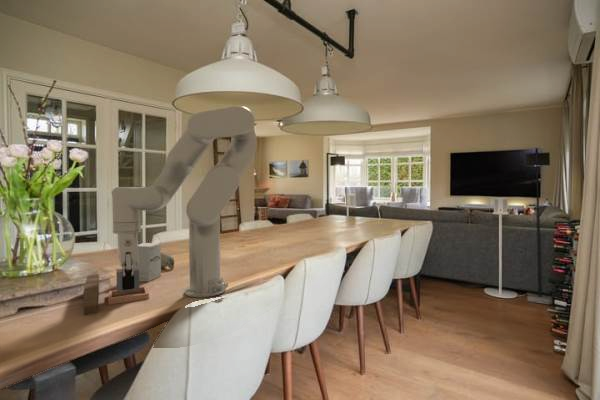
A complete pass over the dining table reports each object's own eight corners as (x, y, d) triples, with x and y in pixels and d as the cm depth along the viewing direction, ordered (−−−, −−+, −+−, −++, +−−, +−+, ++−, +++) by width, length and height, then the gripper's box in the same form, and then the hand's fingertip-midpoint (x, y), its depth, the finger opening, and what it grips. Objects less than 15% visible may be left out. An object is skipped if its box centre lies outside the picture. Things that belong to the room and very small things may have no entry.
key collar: (146, 290, 110) (146, 286, 110) (149, 298, 102) (149, 293, 102) (108, 295, 104) (108, 291, 104) (108, 304, 97) (108, 299, 97)
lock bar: (138, 286, 106) (138, 267, 106) (139, 289, 103) (139, 270, 103) (116, 288, 103) (116, 269, 103) (117, 292, 100) (116, 272, 100)
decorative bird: (167, 271, 134) (166, 253, 134) (142, 266, 142) (142, 249, 142) (178, 268, 139) (178, 250, 138) (154, 264, 147) (153, 246, 147)
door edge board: (97, 312, 91) (96, 290, 90) (84, 315, 89) (83, 292, 89) (99, 292, 108) (98, 273, 108) (88, 293, 107) (87, 274, 106)
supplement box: (149, 281, 120) (148, 246, 119) (130, 280, 121) (130, 245, 120) (161, 276, 127) (161, 242, 126) (144, 275, 128) (143, 242, 128)
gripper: (143, 230, 97) (144, 292, 98) (138, 224, 111) (139, 278, 112) (113, 231, 93) (114, 297, 94) (112, 225, 108) (113, 281, 109)
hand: (128, 286), depth 103 cm, fingers closed on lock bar, 4 cm apart
